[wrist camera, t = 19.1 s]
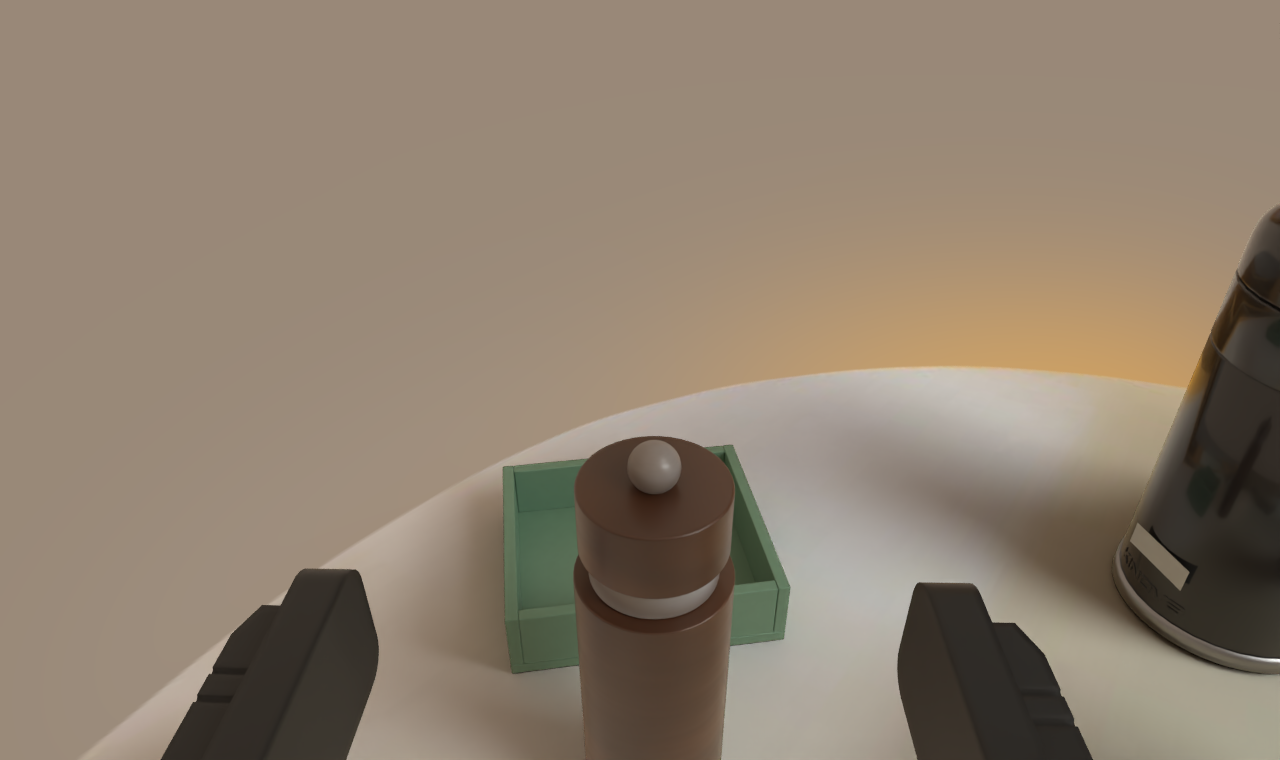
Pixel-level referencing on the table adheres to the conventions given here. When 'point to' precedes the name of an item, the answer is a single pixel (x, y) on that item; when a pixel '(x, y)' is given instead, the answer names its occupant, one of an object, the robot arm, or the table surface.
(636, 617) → the pepper mill
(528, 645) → the green shallow open box
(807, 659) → the table surface
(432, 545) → the table surface
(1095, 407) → the table surface
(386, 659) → the table surface
